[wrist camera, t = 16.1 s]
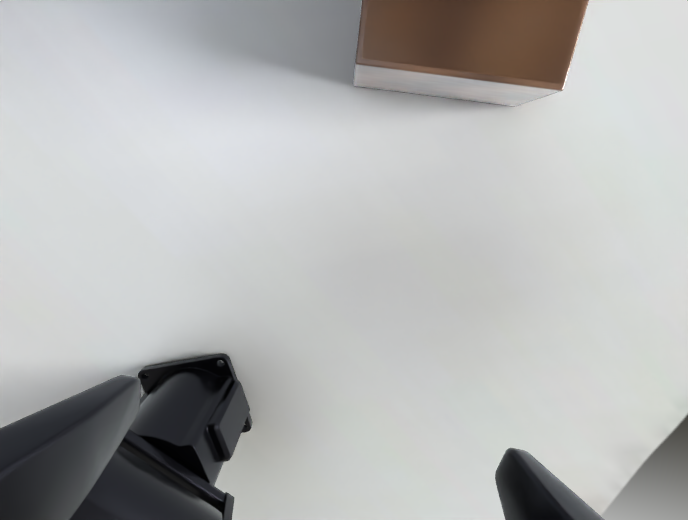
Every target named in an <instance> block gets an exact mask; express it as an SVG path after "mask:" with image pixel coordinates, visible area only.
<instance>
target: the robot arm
mask: <svg viewBox="0 0 688 520" xmlns="http://www.w3.org/2000/svg"><path fill="white" fill-rule="evenodd" d="M219 360H222V361H224V363H221V362H220V361H219ZM146 374H147V375H148V376H147V375H146ZM141 385H142V387H143V389H144V391H145V394H144V395H143V396H142V397H141ZM140 398H141V399H140ZM249 411H250V408H249V405H248V403H247V400H246V397H245V394H244V391H243V388H242V386H241V383H240V382H239V381H238V380H237V377H236V375H235V372H234V369H233V366H232V363H231V361H230V358H229V357H228V356H227V355H226V354H216V355H210V356H205V357H199V358H194V359H188V360H182V361H177V362H171V363H165V364H160V365H154V366H149V367H144V368H143V369H142V370H141V371H140V372H139V373H138V378H137V377H132V376H126V375H120V376H117V377H115V378H113V379H110V380H108V381H106V382H104V383H101V384H99V385H97V386H95V387H92V388H90V389H88V390H86V391H83V392H81V393H79V394H77V395H74V396H72V397H70V398H68V399H65V400H63V401H61V402H59V403H56V404H54V405H52V406H50V407H47V408H45V409H43V410H41V411H38V412H36V413H34V414H32V415H29V416H27V417H25V418H23V419H20V420H18V421H16V422H14V423H11V424H9V425H7V426H5V427H2V428H0V520H232V512H233V504H234V497H233V496H231V495H230V494H229V493H227V492H226V493H223V492H222V491H220V490H219V489H217V488H216V487H214V484H215V482H216V479H217V477H218V474H219V472H220V469H221V467H222V465H223V462H224V461H229V460H230V458H231V457H232V455H233V452H234V450H235V447H236V444H237V442H238V439H239V437H240V434H241V433H242V432H247V431H249V430H250V429H251V426H252V419H251V417H250V414H249ZM244 424H246V425H244ZM495 479H496V485H497V489H498V493H499V497H500V500H501V504H502V508H503V512H504V516H505V520H604V519H603V518H602V517H601V516H600V515H599V514H598V513H596V512H595V511H594V510H593V509H592V508H591V507H590V506H588V505H587V504H586V503H585V502H584V501H583V500H582V499H580V498H579V497H578V496H577V495H576V494H575V493H574V492H573V491H571V490H570V489H569V488H568V487H567V486H566V485H565V484H563V483H562V482H561V481H560V480H559V479H558V478H557V477H555V476H554V475H553V474H552V473H551V472H550V471H549V470H548V469H546V468H545V467H544V466H543V465H542V464H541V463H540V462H538V461H537V460H536V459H535V458H534V457H533V456H532V455H531V454H529V453H528V452H527V451H524V450H520V449H515V448H509V449H508V450H506V452H505V454H504V456H503V458H502V460H501V462H500V464H499V466H498V468H497V470H496V475H495Z"/></svg>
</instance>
